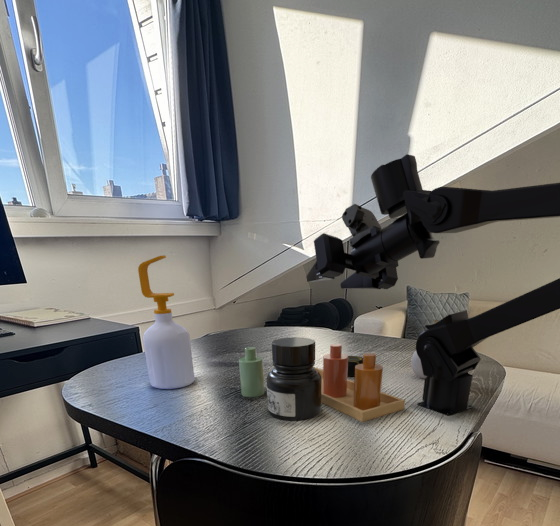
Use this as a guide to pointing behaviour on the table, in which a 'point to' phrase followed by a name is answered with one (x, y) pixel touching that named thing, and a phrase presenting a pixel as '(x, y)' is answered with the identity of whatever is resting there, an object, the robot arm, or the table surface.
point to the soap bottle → (165, 341)
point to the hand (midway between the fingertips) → (324, 282)
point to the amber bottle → (367, 383)
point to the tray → (346, 406)
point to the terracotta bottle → (335, 372)
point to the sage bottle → (251, 374)
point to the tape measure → (353, 364)
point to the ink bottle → (294, 380)
